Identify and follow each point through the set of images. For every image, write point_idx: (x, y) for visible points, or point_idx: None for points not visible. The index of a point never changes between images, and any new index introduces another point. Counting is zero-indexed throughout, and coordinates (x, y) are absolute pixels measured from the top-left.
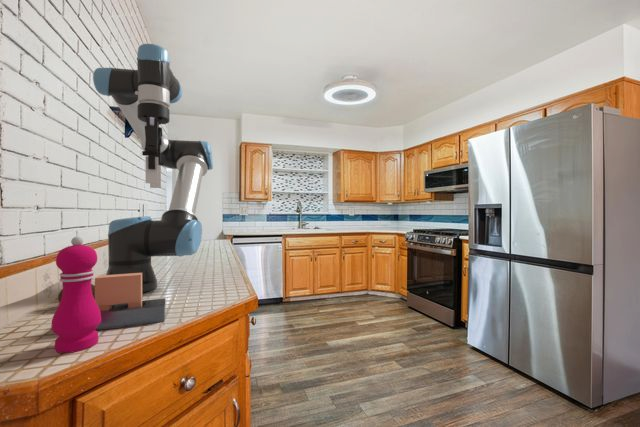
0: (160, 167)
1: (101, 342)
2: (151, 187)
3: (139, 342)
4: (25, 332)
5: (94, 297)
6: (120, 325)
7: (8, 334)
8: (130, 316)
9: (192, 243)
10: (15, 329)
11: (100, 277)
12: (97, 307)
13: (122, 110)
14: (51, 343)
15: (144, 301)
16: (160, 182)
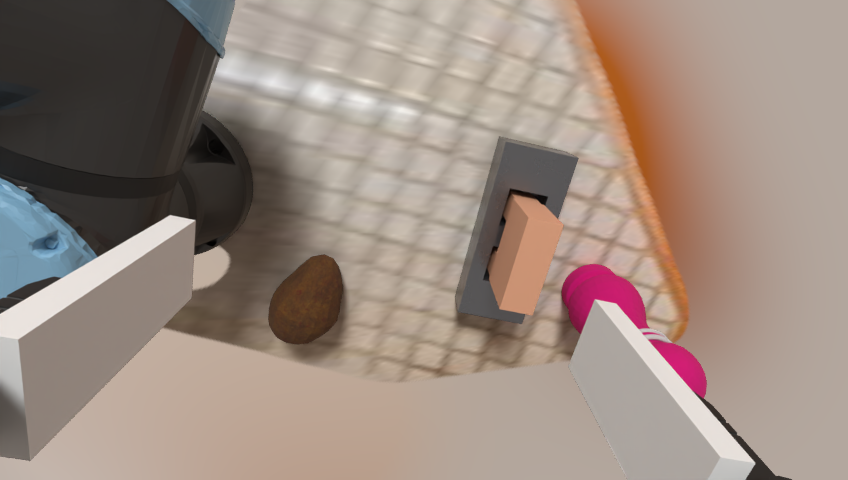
0: (51, 323)
1: (601, 259)
2: (190, 288)
3: (650, 209)
4: (455, 355)
5: (338, 275)
6: None
7: (449, 373)
8: None
9: None
10: (424, 369)
11: (531, 305)
12: (626, 292)
13: None
14: (547, 319)
15: (503, 189)
16: (170, 240)
